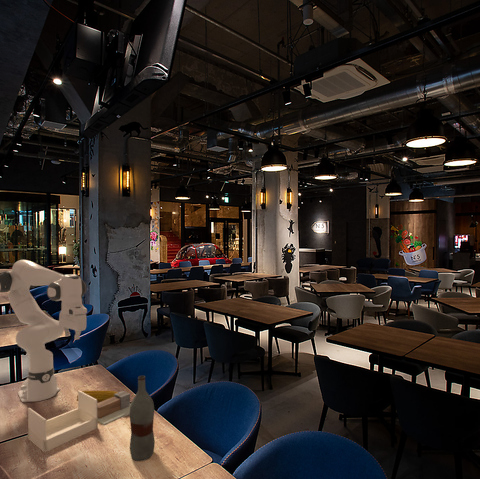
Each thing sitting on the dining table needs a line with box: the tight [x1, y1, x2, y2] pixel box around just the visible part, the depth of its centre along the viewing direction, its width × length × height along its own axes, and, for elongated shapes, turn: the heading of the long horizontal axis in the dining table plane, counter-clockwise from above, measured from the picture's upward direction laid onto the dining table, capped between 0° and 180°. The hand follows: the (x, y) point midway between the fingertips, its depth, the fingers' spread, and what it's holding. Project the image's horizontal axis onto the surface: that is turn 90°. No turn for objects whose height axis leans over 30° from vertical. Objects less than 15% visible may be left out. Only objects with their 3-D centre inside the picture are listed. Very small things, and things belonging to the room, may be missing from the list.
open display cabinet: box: [27, 390, 99, 453], centre depth 146 cm, size 16×22×13 cm
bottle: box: [128, 375, 156, 462], centre depth 131 cm, size 9×9×30 cm
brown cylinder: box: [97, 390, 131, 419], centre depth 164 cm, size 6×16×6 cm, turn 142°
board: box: [98, 403, 131, 426], centre depth 164 cm, size 16×18×1 cm
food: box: [76, 390, 118, 403], centre depth 176 cm, size 21×6×6 cm, turn 97°
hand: (72, 337), depth 162 cm, fingers open, 8 cm apart
